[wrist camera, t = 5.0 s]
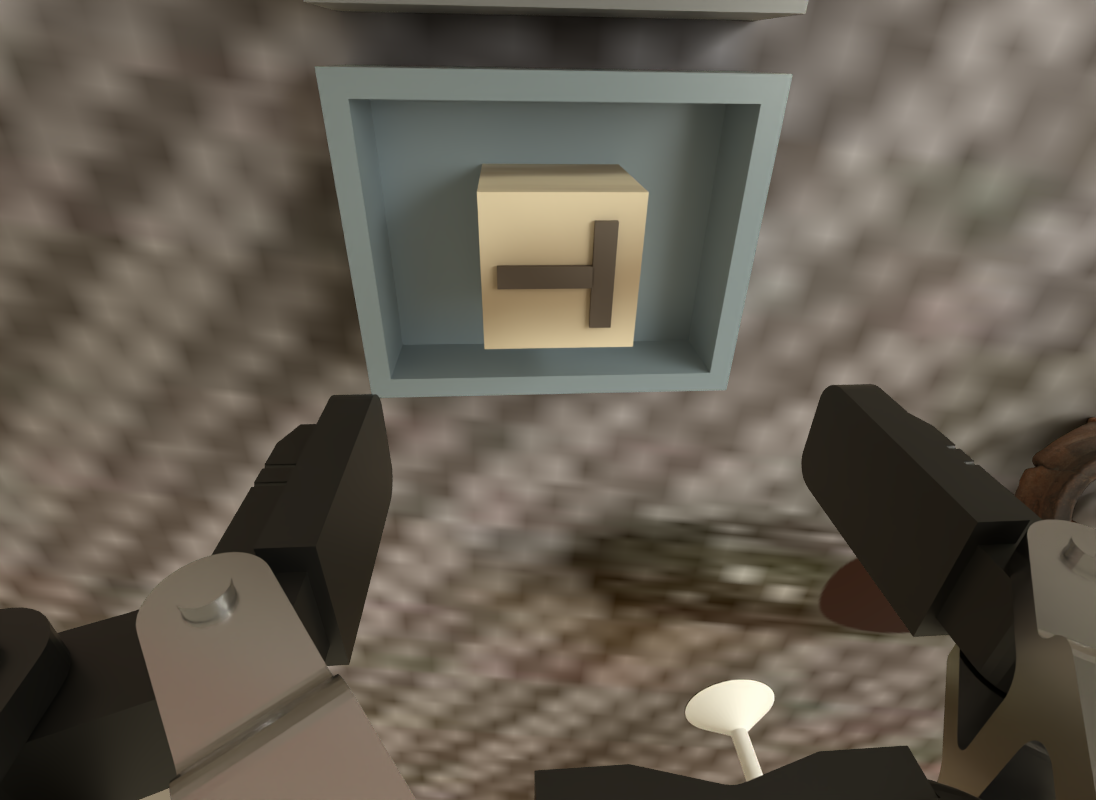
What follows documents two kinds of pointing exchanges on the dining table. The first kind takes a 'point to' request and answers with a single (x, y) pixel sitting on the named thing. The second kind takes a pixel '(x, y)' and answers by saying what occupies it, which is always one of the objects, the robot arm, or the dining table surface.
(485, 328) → the letter cube
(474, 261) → the slate bin
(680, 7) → the charcoal bin
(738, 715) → the champagne flute
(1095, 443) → the pottery mug
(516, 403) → the dining table surface
